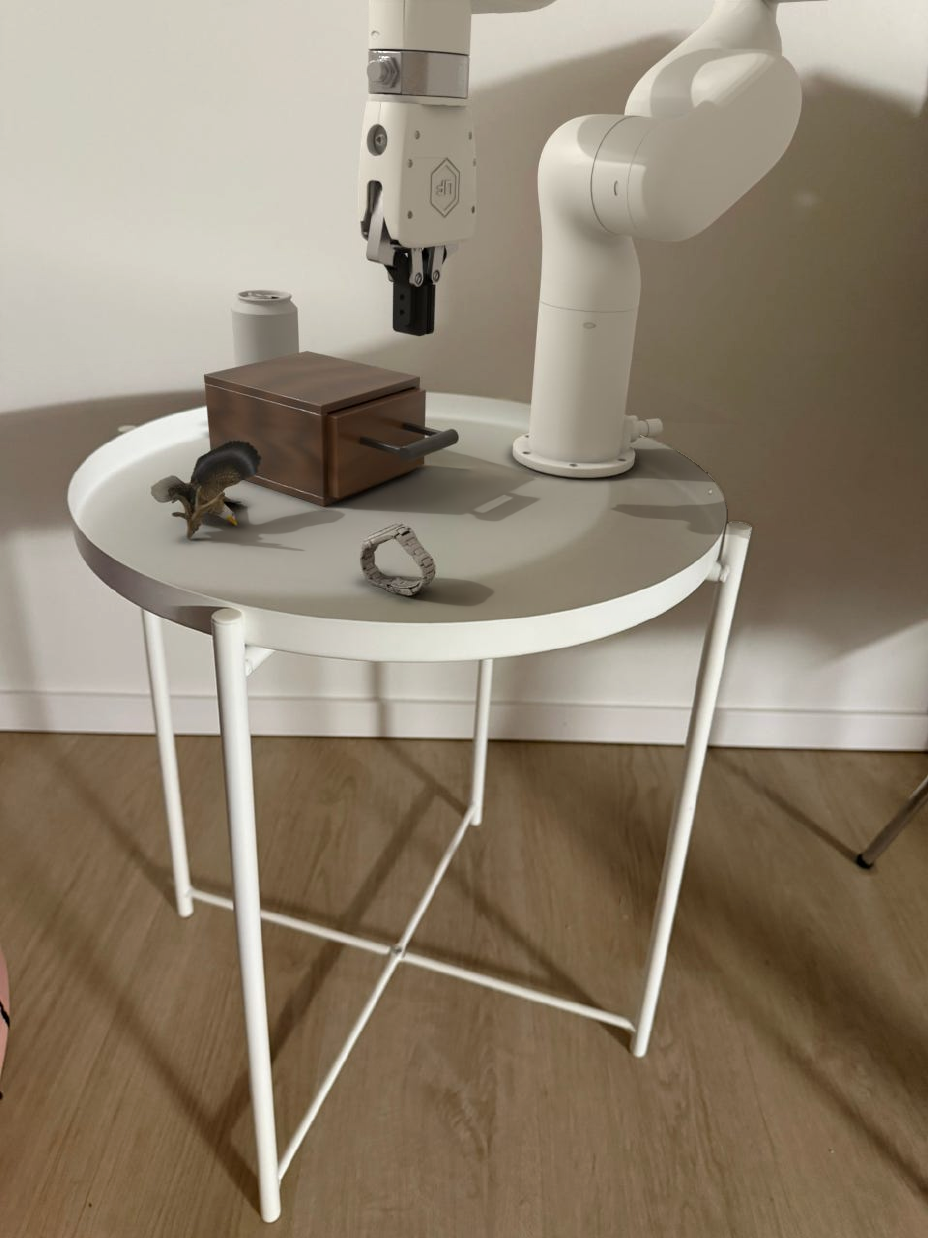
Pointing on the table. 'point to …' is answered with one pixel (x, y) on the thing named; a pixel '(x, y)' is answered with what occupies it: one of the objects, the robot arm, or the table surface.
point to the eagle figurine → (209, 483)
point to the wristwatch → (411, 546)
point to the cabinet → (293, 414)
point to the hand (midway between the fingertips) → (413, 331)
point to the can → (264, 326)
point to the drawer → (379, 440)
